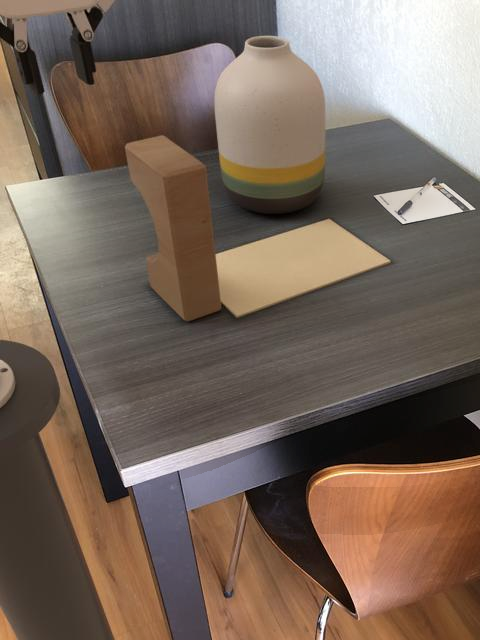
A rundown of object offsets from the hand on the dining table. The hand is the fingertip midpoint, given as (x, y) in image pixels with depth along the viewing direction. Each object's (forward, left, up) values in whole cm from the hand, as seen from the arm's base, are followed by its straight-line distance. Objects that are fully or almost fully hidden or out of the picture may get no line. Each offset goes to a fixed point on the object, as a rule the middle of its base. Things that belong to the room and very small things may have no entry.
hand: (61, 83), depth 75 cm
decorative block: (+10, 0, -30) cm, 31 cm away
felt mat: (+27, 0, -29) cm, 40 cm away
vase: (+36, +19, -30) cm, 50 cm away
